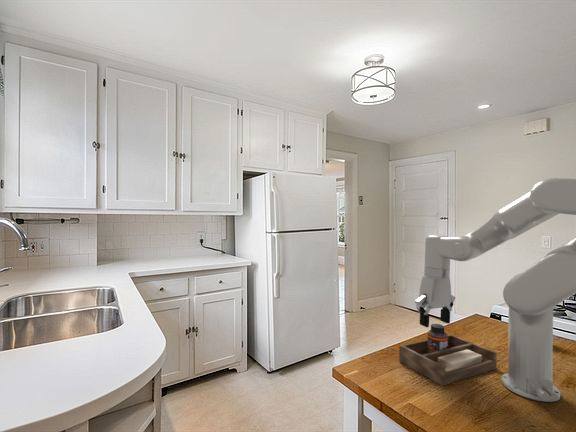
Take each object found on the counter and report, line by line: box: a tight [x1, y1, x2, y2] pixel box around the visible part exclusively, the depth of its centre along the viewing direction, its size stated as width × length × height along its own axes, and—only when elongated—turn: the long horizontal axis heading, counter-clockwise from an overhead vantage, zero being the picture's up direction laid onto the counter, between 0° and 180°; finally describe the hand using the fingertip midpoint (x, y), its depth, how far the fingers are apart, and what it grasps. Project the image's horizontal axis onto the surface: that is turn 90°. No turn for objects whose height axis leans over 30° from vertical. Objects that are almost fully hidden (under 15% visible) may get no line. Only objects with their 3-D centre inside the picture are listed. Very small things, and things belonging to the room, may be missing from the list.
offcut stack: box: [436, 349, 482, 373], centre depth 92 cm, size 5×18×4 cm, turn 116°
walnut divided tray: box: [398, 333, 498, 386], centre depth 96 cm, size 16×24×5 cm, turn 114°
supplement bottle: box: [426, 323, 448, 354], centre depth 99 cm, size 6×6×11 cm
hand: (434, 323), depth 100 cm, fingers open, 9 cm apart
